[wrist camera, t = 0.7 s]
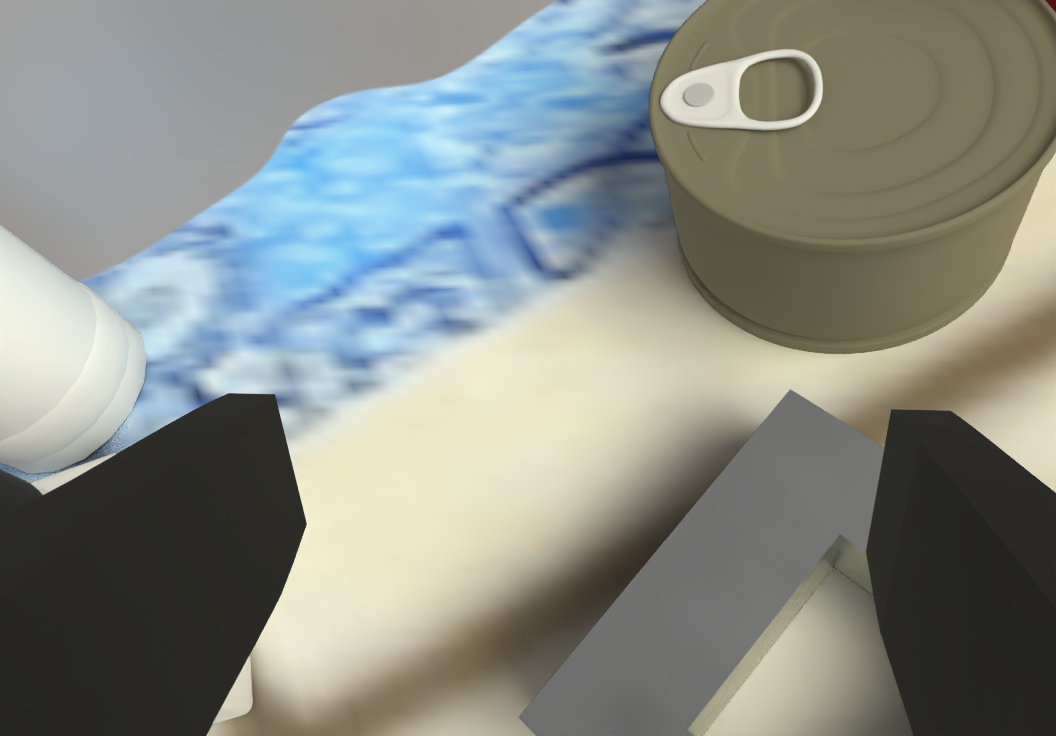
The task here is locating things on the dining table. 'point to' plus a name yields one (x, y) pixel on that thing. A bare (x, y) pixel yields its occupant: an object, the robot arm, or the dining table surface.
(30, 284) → the bottle
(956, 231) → the can
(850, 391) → the dining table surface
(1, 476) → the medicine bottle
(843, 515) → the block with rectangular hole
